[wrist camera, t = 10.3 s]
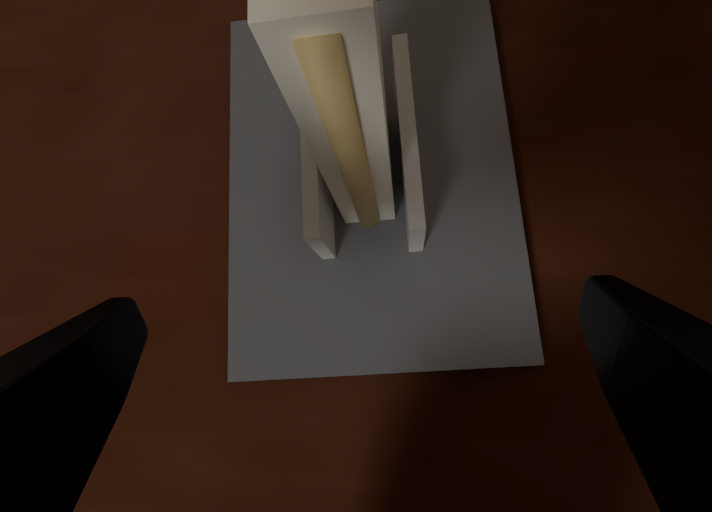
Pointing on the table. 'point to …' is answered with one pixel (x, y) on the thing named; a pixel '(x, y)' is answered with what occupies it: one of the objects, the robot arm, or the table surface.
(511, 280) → the grey base plate
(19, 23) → the table surface
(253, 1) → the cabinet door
